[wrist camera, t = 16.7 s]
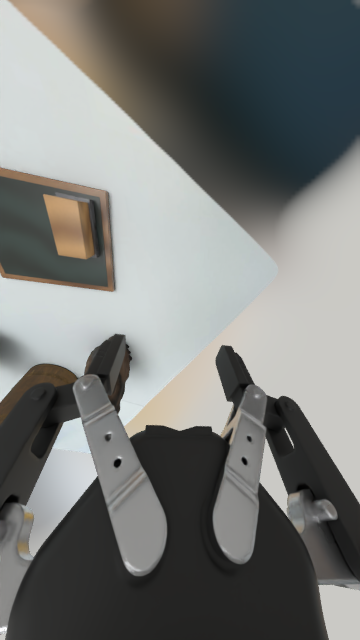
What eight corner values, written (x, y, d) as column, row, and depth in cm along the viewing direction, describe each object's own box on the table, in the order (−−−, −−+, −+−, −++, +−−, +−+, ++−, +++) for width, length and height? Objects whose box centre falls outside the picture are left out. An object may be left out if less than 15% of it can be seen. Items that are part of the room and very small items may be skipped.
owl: (115, 331, 43) (82, 403, 26) (147, 354, 49) (137, 425, 32) (88, 352, 47) (45, 426, 30) (121, 371, 53) (100, 442, 36)
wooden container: (71, 394, 58) (27, 474, 40) (25, 382, 53) (-50, 469, 35) (84, 373, 52) (38, 457, 34) (33, 357, 46) (-54, 447, 28)
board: (-47, 158, 23) (-58, 154, 22) (108, 191, 26) (105, 190, 25) (7, 275, 33) (1, 277, 31) (114, 289, 36) (112, 292, 35)
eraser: (60, 193, 25) (38, 188, 21) (93, 200, 25) (78, 196, 21) (72, 252, 30) (56, 257, 25) (99, 256, 30) (88, 262, 26)
